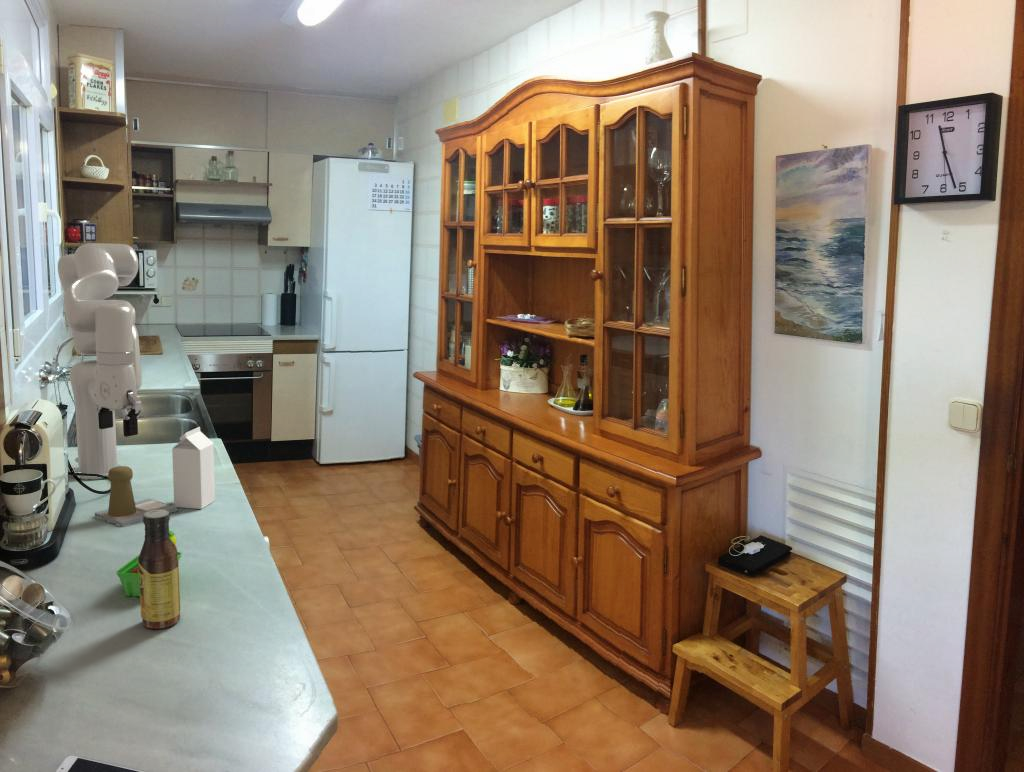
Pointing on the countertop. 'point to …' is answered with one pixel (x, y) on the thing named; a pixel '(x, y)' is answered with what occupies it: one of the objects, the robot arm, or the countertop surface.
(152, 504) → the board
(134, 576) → the fruit basket
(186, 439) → the milk carton
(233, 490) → the countertop surface
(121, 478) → the cork
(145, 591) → the sauce bottle
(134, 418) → the robot arm
